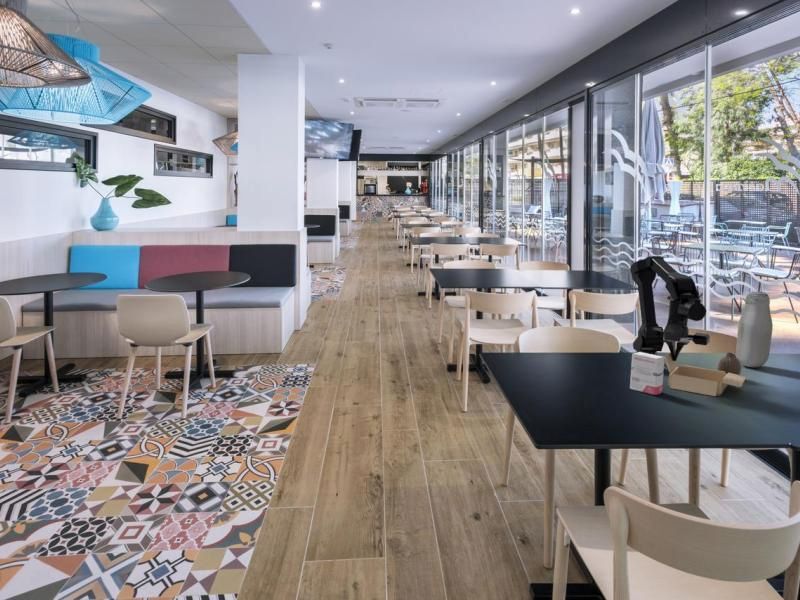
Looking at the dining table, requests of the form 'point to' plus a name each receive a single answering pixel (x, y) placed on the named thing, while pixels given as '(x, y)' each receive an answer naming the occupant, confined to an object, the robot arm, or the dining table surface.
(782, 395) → the dining table surface
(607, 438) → the dining table surface
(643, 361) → the ink box
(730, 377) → the flap right
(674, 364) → the flap left
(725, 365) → the vase
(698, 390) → the carton
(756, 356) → the grey bottle
